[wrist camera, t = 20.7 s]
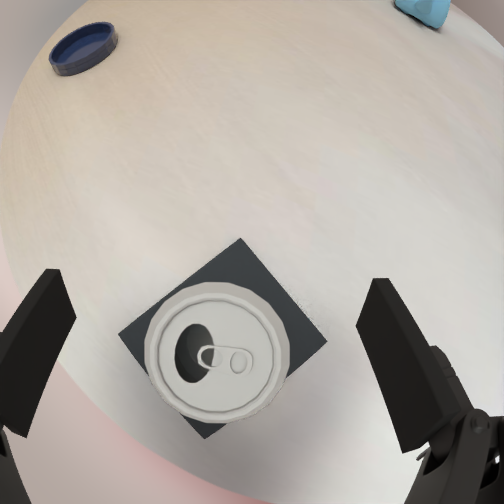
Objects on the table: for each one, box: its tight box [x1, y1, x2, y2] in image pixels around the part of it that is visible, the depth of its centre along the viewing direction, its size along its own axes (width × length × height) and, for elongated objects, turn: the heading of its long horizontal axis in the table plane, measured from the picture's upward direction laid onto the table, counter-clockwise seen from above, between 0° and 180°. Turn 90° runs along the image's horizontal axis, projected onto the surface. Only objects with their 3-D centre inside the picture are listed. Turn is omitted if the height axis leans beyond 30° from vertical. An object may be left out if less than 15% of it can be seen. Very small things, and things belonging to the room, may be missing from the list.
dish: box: [49, 22, 117, 76], centre depth 31 cm, size 11×11×2 cm
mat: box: [118, 238, 327, 439], centre depth 25 cm, size 14×12×1 cm
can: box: [145, 282, 290, 423], centre depth 18 cm, size 8×8×12 cm
